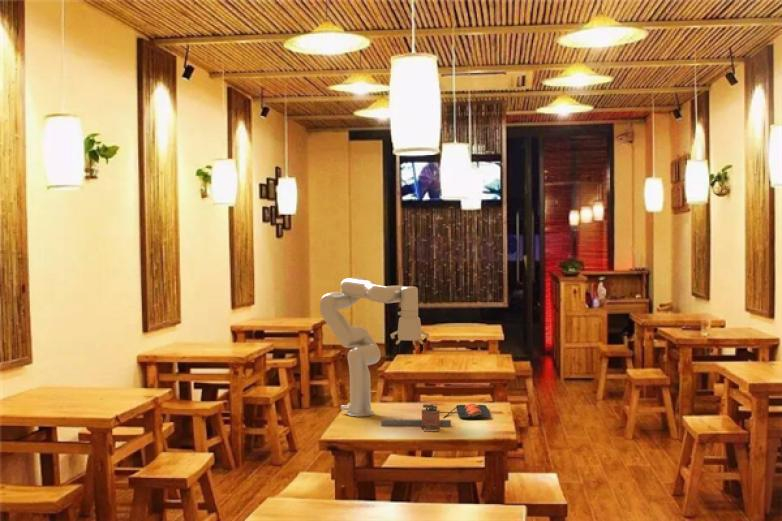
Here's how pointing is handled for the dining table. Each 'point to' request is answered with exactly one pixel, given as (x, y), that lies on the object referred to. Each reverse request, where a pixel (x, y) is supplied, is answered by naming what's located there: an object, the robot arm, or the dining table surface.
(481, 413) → the sushi plate
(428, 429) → the marked pad
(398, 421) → the rail
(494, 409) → the dining table surface
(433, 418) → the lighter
